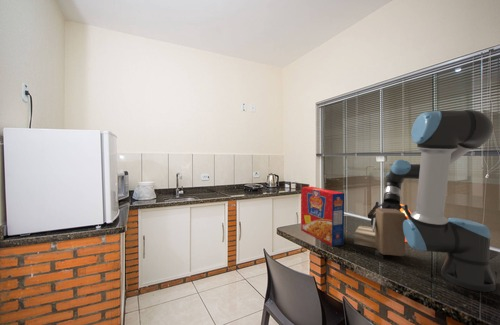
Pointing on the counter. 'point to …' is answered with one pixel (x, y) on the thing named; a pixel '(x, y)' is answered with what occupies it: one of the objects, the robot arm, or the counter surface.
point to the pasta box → (323, 215)
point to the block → (390, 232)
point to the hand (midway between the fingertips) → (389, 233)
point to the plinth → (364, 236)
